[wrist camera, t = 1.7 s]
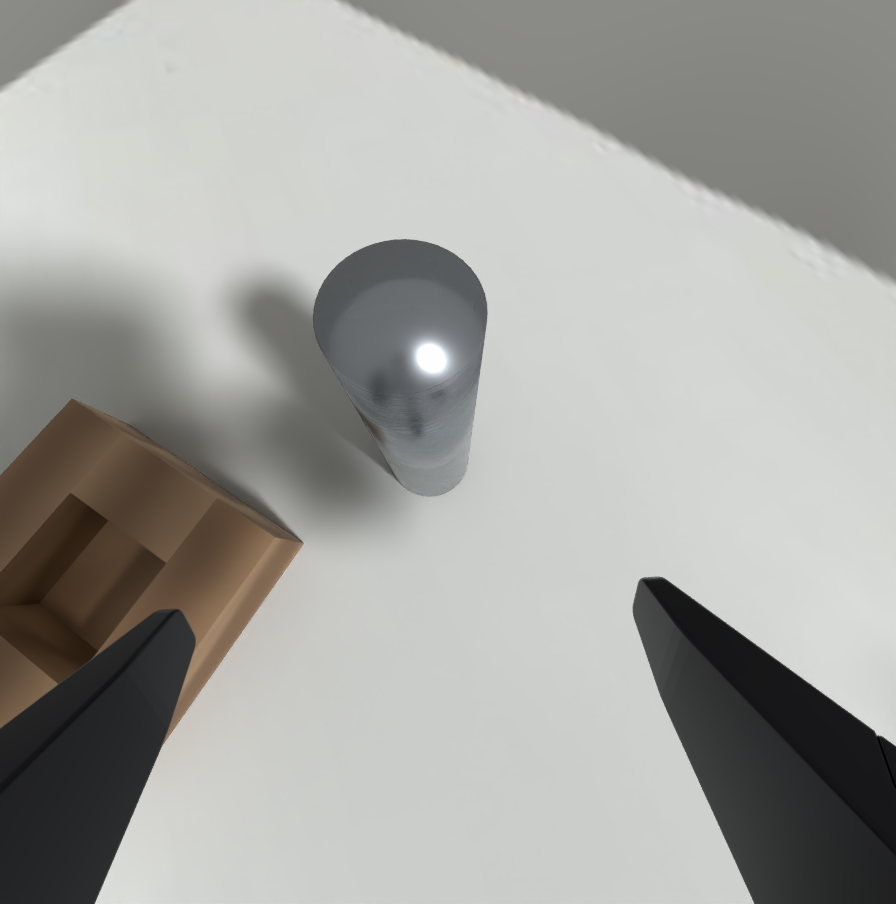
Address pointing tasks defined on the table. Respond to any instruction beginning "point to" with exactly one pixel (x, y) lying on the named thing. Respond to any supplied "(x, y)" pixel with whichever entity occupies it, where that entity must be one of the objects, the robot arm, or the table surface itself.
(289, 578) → the table surface
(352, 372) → the steel pin
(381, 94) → the table surface
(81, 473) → the walnut bore block
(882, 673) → the table surface
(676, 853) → the table surface
